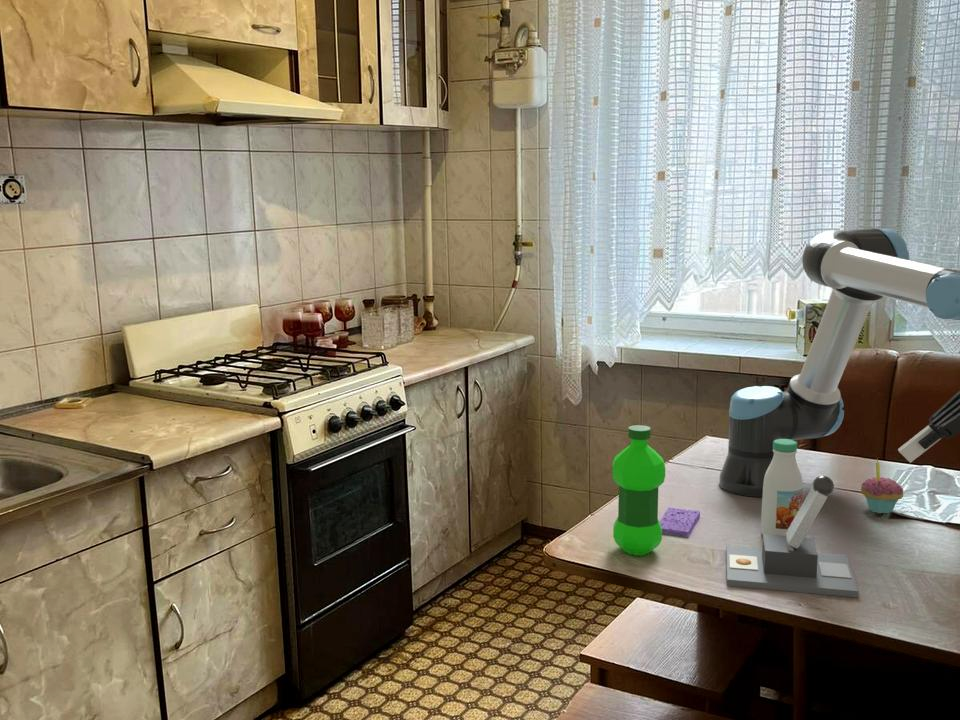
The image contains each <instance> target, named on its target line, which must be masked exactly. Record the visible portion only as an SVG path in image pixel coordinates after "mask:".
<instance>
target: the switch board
mask: <svg viewBox="0 0 960 720" xmlns="http://www.w3.org/2000/svg"><path fill="white" fill-rule="evenodd" d="M725 546H726V547H725V548H726V551H725V552H726V554H725V555H726V561H725V562H726V586H729V587H735V588H736V587H738V588H739V587H740V588H750V589H761V590H769V591H770V590H771V591H779V592H780V591H781V592H782V591H783V592H790V593H791V592H794V593H806V594H816V595H825V596H835V597H837V596H838V597H846V598H847V597H848V598H849V597H850V598H856V599H857V598H859V589H858V588H859V587H858V586H857V582H856V580H855V577H854V575H853V574H854V573H853V572H852V569H851V565H850V562H849V559H848V556H847V554H843V553H842V554H841V553H831V552H830V553H828V552H818V551H817V547H816V543H815V539H814V537H806V536H805V537H804V539H803V540H802V542H801V544H800V546H799V547H798V549H797V548H795V547H793V546H790V545H788V541H787V536H780V535H767V534H763V535H762V546H761V547H756V546H755V547H754V546H744V545H730V544H729V545H728V544H726V545H725Z"/></svg>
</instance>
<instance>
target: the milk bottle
mask: <svg viewBox="0 0 960 720" xmlns="http://www.w3.org/2000/svg"><path fill="white" fill-rule="evenodd" d="M797 450H798V443H797V441H796V440H789V439H777V440H774V442H773V452H774V456H773V459H772V461H771V464H770V465H769V467H768V469H767V471H766V473H765V477H764V483H763V497H762V498H761V499H762V500H761V516H760V517H761V521H760V532H761V535H762V536H763V534H767V535H780V536H787V535H786V532H787V530H788V528H789V527H790V525H791V523H792V521H793V520H794V518H795V516H796V514H797V513H798V511H799V509H800V507H801V506H802V504H803V493H804V491H803V488H804V483H803V475H802V473H801V470H800V468H799V466H798V462H797V459H796V454H797V453H798V451H797Z"/></svg>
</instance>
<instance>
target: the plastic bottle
mask: <svg viewBox="0 0 960 720" xmlns="http://www.w3.org/2000/svg"><path fill="white" fill-rule="evenodd" d="M628 438H629V439H631V441H630V444H629V445H628V446H627V447H624V449H622V450H621V451H619V453H617V454H616V455H615V456H614V459H613V461H612V478H613V482H615V484H616V485H618V506H617V507H618V509H617V510H618V513H617V514H618V516H617V517H616V519H615V521H614V524H613V537H612V538H613V539H614V542H615V544H616V545H617V546H618V547H619V548H620V549H622V550H623V552H625V553H626V552H627V554H628V553H629V554H628V555H631V554H634V555H633V556H637V555H639V556H646V555H648V554H650V553H651V552H653V550H655V549H657V547H659V545H660V544H661V542H662V539H663V534H662V527H661V525H660V522H659V521H660V519H659V517H658V515H659V487H660V486H662V484H664V482H665V478H666V465H665V461H664V459H663V457H662V456H661V455H660V454H659V453H658V452H657V451H656V450H655V449H654V448H652V447H651V446H650V445H648V440H649V439H651V426H647V425H643V424H641V425H640V424H638V425H637V424H636V425H635V424H634V425H630V426H628ZM649 552H650V553H649ZM647 553H648V554H647ZM645 554H646V555H645Z"/></svg>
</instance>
